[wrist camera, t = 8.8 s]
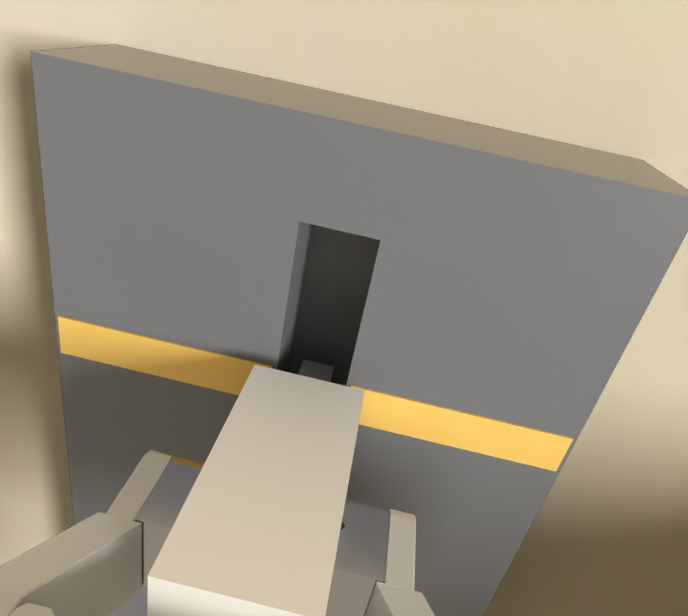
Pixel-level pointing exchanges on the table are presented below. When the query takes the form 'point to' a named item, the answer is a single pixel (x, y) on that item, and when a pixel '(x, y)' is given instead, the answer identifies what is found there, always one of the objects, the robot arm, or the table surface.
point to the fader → (264, 503)
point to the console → (338, 287)
